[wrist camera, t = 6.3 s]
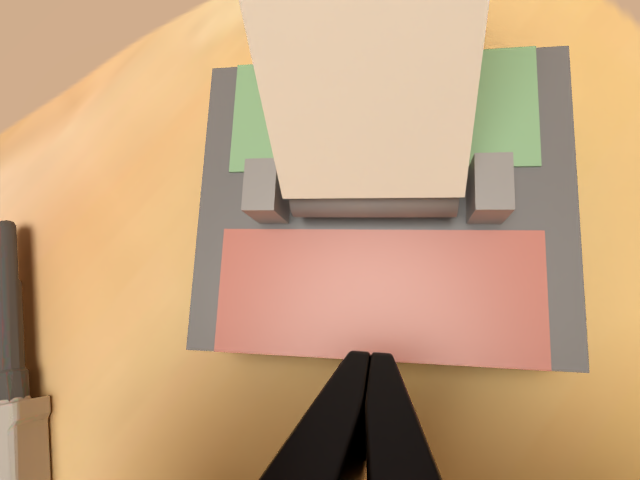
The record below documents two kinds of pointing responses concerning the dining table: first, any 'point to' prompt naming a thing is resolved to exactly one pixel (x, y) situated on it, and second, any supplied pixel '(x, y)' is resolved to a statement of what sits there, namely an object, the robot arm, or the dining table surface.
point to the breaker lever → (368, 101)
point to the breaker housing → (402, 241)
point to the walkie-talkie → (18, 380)
